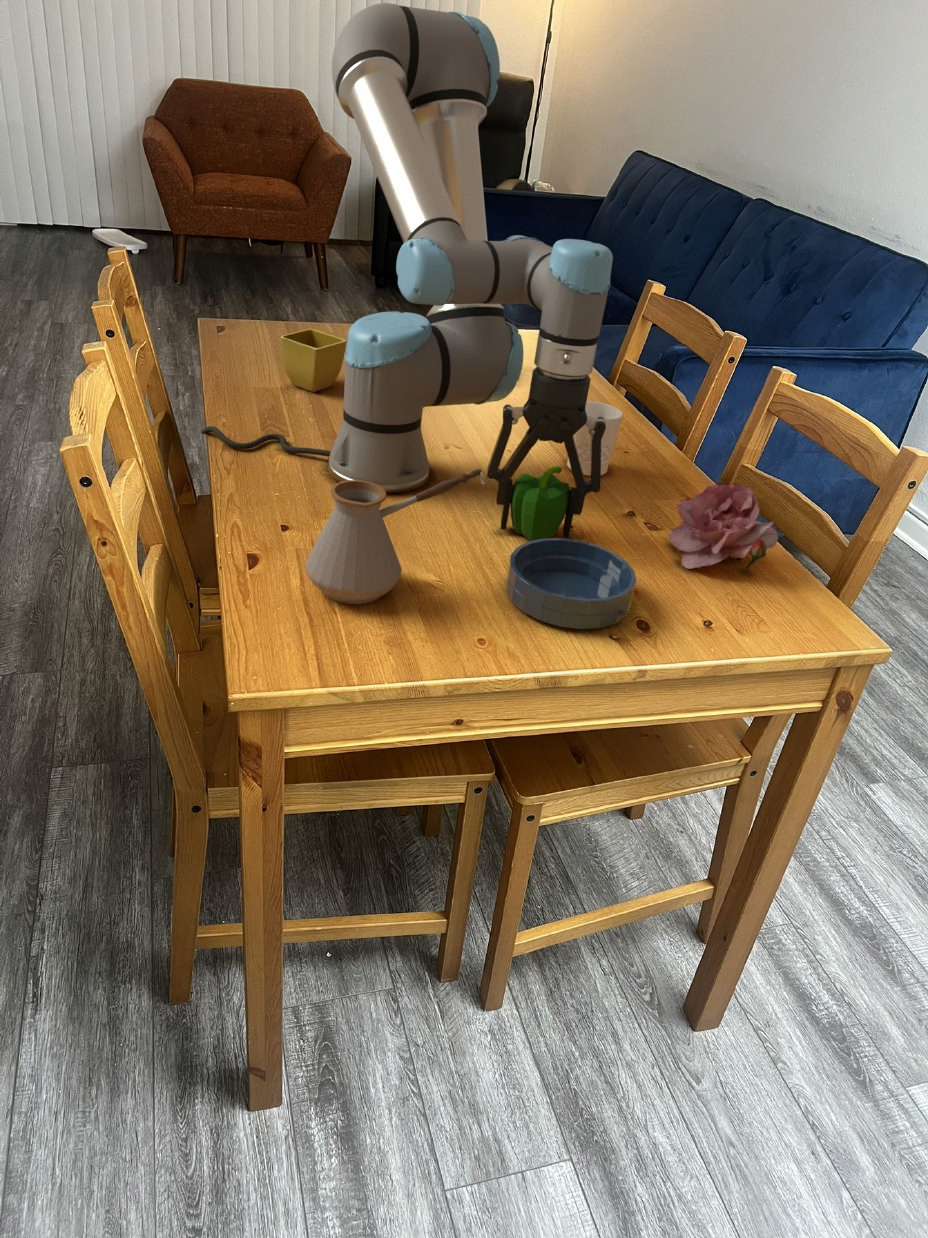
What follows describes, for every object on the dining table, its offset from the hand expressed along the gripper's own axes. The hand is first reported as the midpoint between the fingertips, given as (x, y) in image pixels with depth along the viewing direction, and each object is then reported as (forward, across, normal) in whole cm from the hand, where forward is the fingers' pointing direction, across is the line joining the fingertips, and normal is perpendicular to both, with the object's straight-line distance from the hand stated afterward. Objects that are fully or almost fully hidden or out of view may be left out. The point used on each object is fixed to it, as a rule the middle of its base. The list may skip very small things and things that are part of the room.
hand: (534, 529), depth 132 cm
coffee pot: (+1, -18, -19) cm, 26 cm away
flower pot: (+1, -41, +49) cm, 64 cm away
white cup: (+1, +9, +27) cm, 29 cm away
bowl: (+1, +4, -17) cm, 18 cm away
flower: (+1, +26, 0) cm, 26 cm away
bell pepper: (+1, 0, 0) cm, 1 cm away
